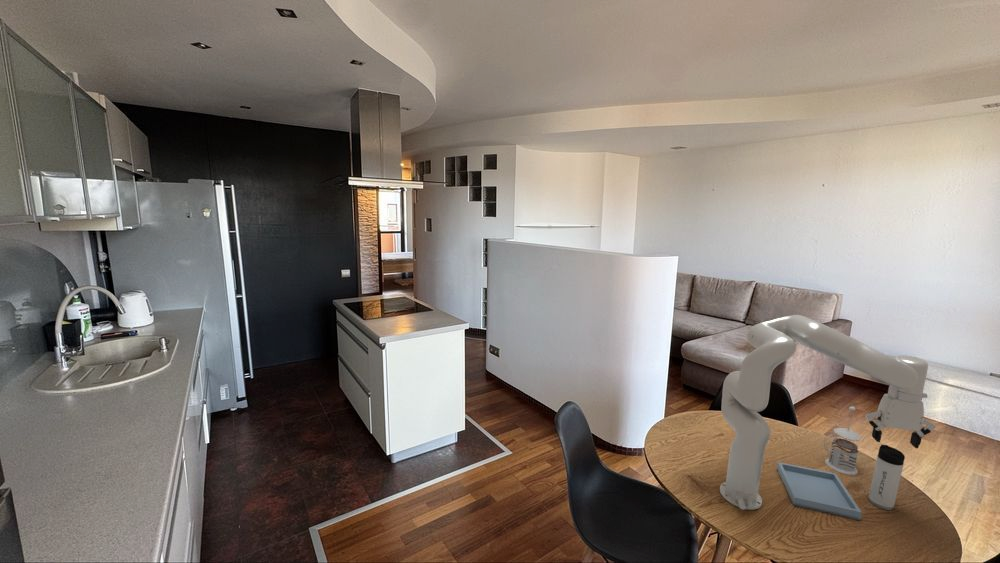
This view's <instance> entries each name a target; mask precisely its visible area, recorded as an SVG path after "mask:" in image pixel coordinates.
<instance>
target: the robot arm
mask: <svg viewBox="0 0 1000 563" xmlns="http://www.w3.org/2000/svg"><path fill="white" fill-rule="evenodd" d="M746 338H747V341H748V343H749V344H750V346H752V347H754V350H752V351H751V352H749V353H748V354H747V355H746V356H745V357H744V358H743V360H742V362H741V365H740V370H735V371H734V370H733V371H732V372H730V373H729V374H727V375H726V377H725V379H724V380H723V385H722V393H721V394H722V396H721V415H722V417H723V419H724V420H725V422H726V423H728V425H729V426H730V427H731V428H732V429H733V431H734V432H735V437H734V438H733V439H732V441H731V444H730V447H729V456H728V462H727V470H726V478H725V481H724V482H722V483H721V484H720V486H719V492H720V495H721V497H723V499H724V500H726V502H728V503H730V504H732V505H733V506H736V507H737V508H739V509H741V510H743V511H744V510H749V511H750V510H751V511H752V510H757V509H760V508H761V507H762V506H763V505H762V504H763V498H762V497H761V495H760V494H759V490H760V489H759V487H760V482H761V475H762V468H763V461H764V456H765V450H766V447H767V444H768V441H769V439H770V438H771V428H770V425H769V423H768V422H767V421H766V419H765V418H764V416H762V415H761V414H760V412H763V411H764V410H765V409H766V408H767V406H768V404H769V400H770V392H771V391H770V390H771V381H772V380H771V379H772V374H773V372H774V370H775V368H777V366H779V365H781V364H782V363H784V362H785V361H788V360H789V359H790V358H791V357H793V356H794V355H795V353H796V350H797V345H796V342H798V343H799V344H801V345H803V346H805V347H806V348H809V349H811V350H813V351H815V352H817V353H819V354H822V355H824V356H826V357H828V358H830V359H832V360H833V361H836V362H838V363H840V364H842V365H844V366H846V367H849V368H852V369H854V370H856V371H859V372H862V373H864V374H866V375H869V376H870V377H872V378H875V379H877V380H879V381H881V382H884V383H885V384H887V385H889V386H888V390H887V393H884V394H883V396H882V398H881V399H880V401H879V405H878V408H877V410H876V411H873V412H869V413H865V414H864V416H865V418H866V420H867V422H868V424H870V426H871V427H872V433H871V436H872V439H873V440H875V442H877V443H880V442H881V441H882V440H881V439H882V435H883V431H882V430H883V429H884V428H892V429H897V430H905V431H912V432H911V437H910V440H909V443H910V445H912V446H913V447H914V448H915V449H919V447H920V446H921V443H922V439H923V438H925V436H926V435H928V434H930V433H932V432H931V431H933V429H935V428H936V427H937V426H936V425H935V424H934V423H933V422H931V421H929V420H927V419H926V418H924V417H925V409H924V408H925V406H924V402H923V399H928V394H927V393H924V388H925V383H926V380H927V376H928V375H927V374H928V371H929V365H928V362H927V361H926V360H924V359H922V358H919V357H916V356H911V355H897V356H896V355H890V354H885V353H883V352H881V351H878V350H877V349H875V348H873V347H871V346H869V345H868V344H865V343H864V342H862V341H859V340H858V339H855V338H853V337H852V336H850V335H846V334H845V333H843V332H841V331H838V330H837V329H835V328H833V327H831V326H828V325H825V324H824V323H822V322H820V321H817V320H814V319H813V318H810V317H807V316H804V315H803V314H802V315H801V314H793V315H786V316H783V317H782V316H781V317H778V318H774V319H769V320H766V321H763V322H760V323H759V322H758V323H756V324H754V325H752V326H751V327H749V329H748V331H747V334H746ZM874 419H876V421H874ZM923 424H924V425H925V426H923Z"/></svg>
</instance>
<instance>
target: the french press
mask: <svg viewBox="0 0 1000 563" xmlns="http://www.w3.org/2000/svg"><path fill="white" fill-rule="evenodd" d="M848 410H849V411H850V418H849V422H848V427H847V428H846V427H837V428H834V429H833V432H834V434H835V435H836V436H838V437H836V436H835V435H834V434H830V435H828V436H827V437H826V438H825V439H824V440H823V448H824V449H825V450H826V451H827V453H829V457H828V458H826V459H825V460H824V463H825V464H826V465H827V467H829V468H830V469H832V470H834V471H836V472H839V473H842V474H845V475H849V476H850V475H856V474H858V472H859V470H858V469H857V468H856V464H857V459H858V454H859V450H858V449H859V447H858V445H857V444H856V443H854V442H857V441H858V442H859V441H861V440H862V436H861V435H860V434H858V433H857V432H856V431H854V430H852V429H850V424H851V419H852V414H853V412H856V410H857V409H856V408H855V406H849V407H848ZM829 437H831V438H830V439H829V440H827V439H828V438H829ZM839 437H840V438H839ZM826 440H827V442H826ZM831 440H833V441H832V443H831V447H830V450H829V449H828V444H829V442H830V441H831Z"/></svg>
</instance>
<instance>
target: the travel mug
mask: <svg viewBox="0 0 1000 563" xmlns="http://www.w3.org/2000/svg"><path fill="white" fill-rule="evenodd" d="M905 458H906V456H905V454H904V453H903V452H901V451H900V450H899V449H896V448H895V447H892V446H889V445H887V444H881V445H880V446H879V448H878V453H877V456H876V461H875V466H874V469H873V476H872V480H871V485H870V489H869V493H868V501H869V502H870V503H871V504H872V505H873V506H875V507H877V508H879V509H883V510H887V511H893V509H894V508H895V507H894V506H895V504H896V498H897V495H898V490H899V486H900V481H901V477H902V472H903V469H904V464H905V463H904V462H905Z"/></svg>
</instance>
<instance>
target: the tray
mask: <svg viewBox="0 0 1000 563" xmlns="http://www.w3.org/2000/svg"><path fill="white" fill-rule="evenodd" d="M776 471H777V472H778V475H779V478H780V479H781V481H782V483H783V484H782V485H783V486H784V488H785V490H786V492H787V494H788V496H789V498H790V501H791V503H792V505H793V506H794V507H800V508H804V509H809V510H813V511H818V512H821V513H827V514H831V515H835V516H838V517H839V516H840V517H843V518H848V519H852V520H857V521H861V520H862V519H861V518H862V510H861V509H860V507H859V506H858V504H857V502H856V501H855V500H854V498H853V497H852V495H851V493H850V492H849V491H848V490H847V488H846V486H845V485H844V484H843V482H842V480H841V478H840V477H839V475H837V473H836V472H830V471H825V470H822V469H821V470H820V469H815V468H811V467H805V466H800V465H797V464H789V463H786V462H780V461H778V462H777V465H776Z"/></svg>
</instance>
